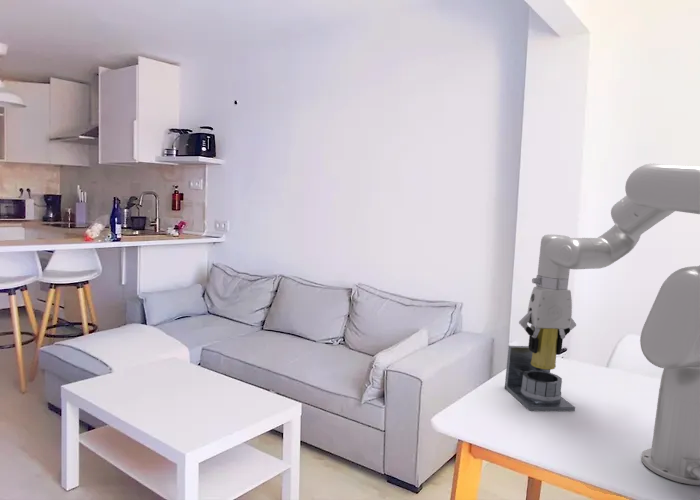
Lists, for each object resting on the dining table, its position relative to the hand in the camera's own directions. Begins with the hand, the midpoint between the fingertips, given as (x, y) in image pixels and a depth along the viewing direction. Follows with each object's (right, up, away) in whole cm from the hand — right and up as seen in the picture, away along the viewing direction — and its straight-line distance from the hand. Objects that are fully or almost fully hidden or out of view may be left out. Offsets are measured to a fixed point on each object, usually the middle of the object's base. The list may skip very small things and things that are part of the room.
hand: (544, 351), depth 138 cm
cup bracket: (-1, -13, +1) cm, 13 cm away
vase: (0, -4, +1) cm, 4 cm away
